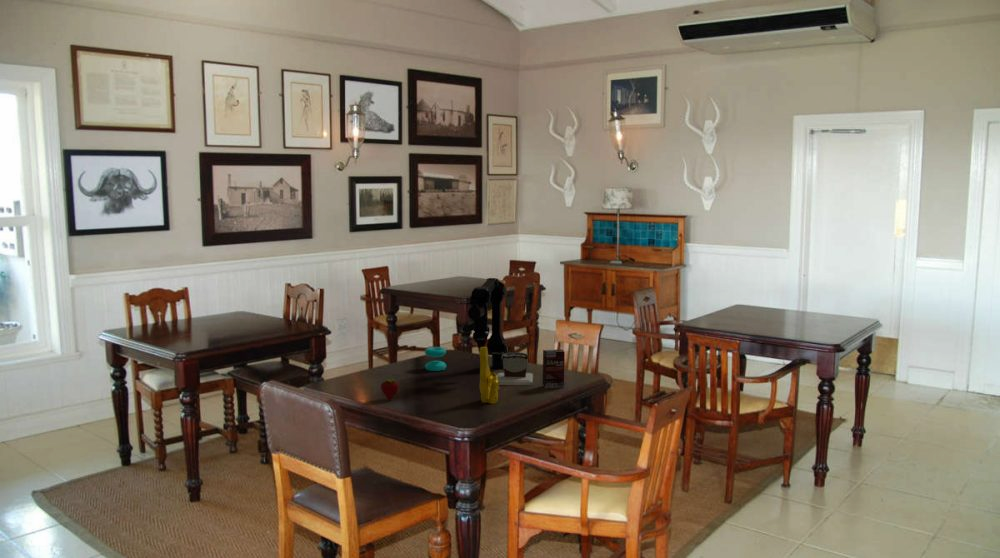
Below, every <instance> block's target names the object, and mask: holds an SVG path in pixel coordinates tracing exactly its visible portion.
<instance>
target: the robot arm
mask: <svg viewBox="0 0 1000 558" xmlns="http://www.w3.org/2000/svg"><path fill="white" fill-rule="evenodd" d="M506 294H507V288H506V285H505V283H503V282H502V281H501V280H500V279H499V278H497V277H489V278H486V281H485V282H484V283H483V284H482V285H481V286H476V287H474V288H473V290H472V292H471V295H470V300H469V305H472V306H471V307H470V308H469V309H468V311H467V316H468V317H469V319H470V320H473V321H472V322H469V323H464V324H463V325H461V329H462V331H463V334H464V335H465V334H467V333H470V332H473V333H472V340H473V341H474V342H475V343H476V345H477V350H478V353H479V355H480V348H481V347H487V350H488V356H491V365H490V370H493V369H494V370H495V369H496V370H498V369H499V370H500V369H501V370H504V368H503V359H501V357H502V355H503V354H505V353H509V352H508V351H509V350H508V347H507V343H506V339H505V337H504V335H503V334H502V327H503V325H502V322H503V321H502V315H503V314H502V306H503V305H502V303H503V301H504V300H505V299H506ZM490 303H491V335H490V337H489V334H490V327H489V326H488V322H489V316H488V308H489V307H488V305H489V304H490ZM486 344H487V346H486Z"/></svg>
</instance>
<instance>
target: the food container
mask: <svg viewBox="0 0 1000 558" xmlns="http://www.w3.org/2000/svg"><path fill="white" fill-rule="evenodd" d="M501 359H503V368H504V369H503V373H504V377H526V373H527V368H528V361H529V360H530V357H529V354H528V353H525V352H519V351H518V352H514V351H512V352H508V353H505V354H503V355H502V357H501Z"/></svg>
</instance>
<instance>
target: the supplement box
mask: <svg viewBox="0 0 1000 558" xmlns="http://www.w3.org/2000/svg"><path fill="white" fill-rule="evenodd" d="M565 357H566V356H565V351H564V350H563V349H542V387H543V386H544V387H545V388H544V387H543V388H544V389H559V388H560V389H561V387H565V360H566V359H565Z"/></svg>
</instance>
